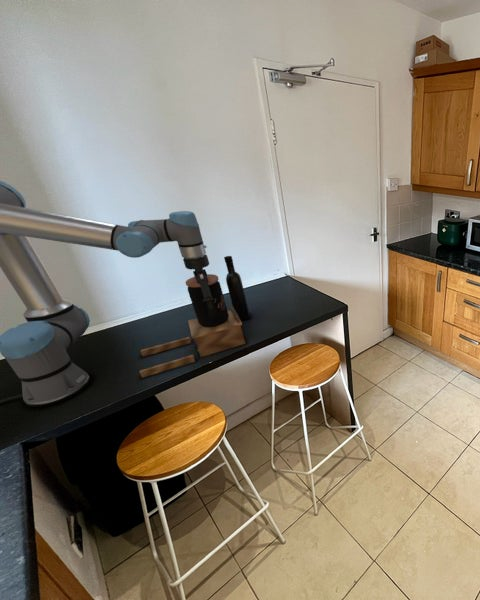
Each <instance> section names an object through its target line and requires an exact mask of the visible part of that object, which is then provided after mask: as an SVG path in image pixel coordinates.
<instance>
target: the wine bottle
mask: <svg viewBox="0 0 480 600" xmlns="http://www.w3.org/2000/svg"><path fill="white" fill-rule="evenodd" d="M223 259H224V263H225V265H226V269H227V274H226V275H225V276H226V277H225V282H226V287H227V290H228V294H229V297H230V301H231V305H233V307H234V309H235V311H236V313H237V315H238V317H239V319H240V320H241V321H246V320H250V318H251V315H250V310H249V306H248V301H247V298H246V294H245V293H246V292H245V289H244V285H243V281H242V277H241V275H240V273H238V272H237V271H236V269H235V265H234V262H233V261H234V259H233V256H232V255H226V256H224V257H223Z"/></svg>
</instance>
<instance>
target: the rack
mask: <svg viewBox="0 0 480 600" xmlns="http://www.w3.org/2000/svg"><path fill="white" fill-rule="evenodd" d="M229 308H230V309H229V310H228V309H227V311H228V315H229V317H228V319H227V321H226V322H225V323H223V324H221V325H219V326H215V327H203V326H202V325H200V324H199V323H198V320H197V317H196V318H192V319H189V320H187V322H188V327H189V330H190V336H191V337H190V336H186V337H183V338H180V339H176V340H171V341H168V342H165V343H162V344H161V343H160V344H158V345H157V344H156V345H154V346H151V347H146V348H143V349H141V350H140V353H141V355H142V358H143V357H147V356H151V355H154V354H158V353H162V352H164V351H169V350H172V349H176V348H178V347H179V348H180V347H183V346H185V345H190V344H192V341H191V338H192V339H194V342H195V345H196V348H197V350H198V353H199V356H200V358H204V357H208V356H210V355H212V354H216V353H219V352H223V351H225V350H229V349H232V348H236V347H239V346H242V345H246V340H245V337H244V333H243V329H242V326H243V322H242V320H240V319H239V317H238V315H237V313H236V311H235V309H234V307H233V305H232V304H229ZM194 362H196V359H195V356H194V354H190V355H186V356H184V357H180V358H177V359H173V360H170V361H167V362H164V363H161V364H157V365H154V366H150V367H147V368H144V369H140V370H139V374H140V376H141V378H142V379H144V378H146V377H150V376H153V375H156V374H159V373H163V372H166V371H169V370H172V369H176V368H179V367H181V366H185V365H188V364H192V363H194Z"/></svg>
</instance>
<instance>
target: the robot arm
mask: <svg viewBox="0 0 480 600" xmlns="http://www.w3.org/2000/svg"><path fill="white" fill-rule="evenodd" d="M30 238H33V239H39V240H47V241H53V242H58V243H59V242H60V243H66V244H73V245H79V246H85V247H92V248H98V249H105V250H111V251H112V250H113V251H117V252H119V253H120V254H122V255H123V256H125V257H127V258H134V259H136V258H140V257H141V258H142V257H143V256H146V255H147V254H149V253H151V251H153V249H154V248H155V247H156V246H158V245H159V244H160V243H170V242H177V245H178V249H179V252H180V255H181V257H182V258H183V259H182V262H183V264H184V267H185V268H186V269H187V270H193V271H192V273H193V277H195V278H196V280H197V283H198V284H200V286H201V290H202V293H203V296H204V300H202V301H203V302H205V304H206V308H207V311H208V314H209V317H210V316H214V315H217V311H216V308H215V305H214V301H213V297H212V295H211V292H210V288H209V285H208V278H207V274H208V273H207V271H206V268H207V267H208V266H210V261H209V260H210V259H209V257H208V255H207V250H206V249H207V244H205V243H204V240H203V236H202V233H201V229H200V224H199V222H198V219H197V217H196V214H195V213H194V212H193V211H190V210H181V211H180V210H179V211H173V212H170V213H169V214H168V218H163V219H140V220H133V221H129V222H128V224H127V226H125V225H121V224H116V223H110V222H106V221H105V222H104V221H99V220H94V219H89V218H83V217H77V216H72V215H67V214H62V213H61V214H60V213H55V212H51V211H44V210H41V209H40V210H39V209H34V208H28V207H27V203H26V199H25V198H24V196H23V195H22V193H21V192H20V191H18V190H17V188H15V187H14V186H12V185H11V184H9V183H7V182H4V181H2V180H0V269H1V271H2V272H3V274H4V276H5V277H6V279H7V280H8V282H9V283H10V285H11V286H12V288H13V290H14V291H15V293H16V294H17V296H18V297H19V299H20V300H21V302H22V304H23V305H24V306H25V308H26V310H25V311H24V313H23V314H22V315H23V317H24V319H25V320H26V322H23V323H21V324H18V325H16V326H15V327H11V328H9V329H7V330H5V331H4V332H3V333H1V334H0V355H1V356H2V357H4V359H5V361H6V362H7V363H8V365H9V366H10V368H11V369H12V370H13V372H14V373H15V375H16V376H17V377H18V379H19V380H20V382H21V394H17V395H14V396H10V397H6V398H3V399H0V404H3V403H6V402H10V401H13V400H16V399H21V398H22V400H23V402H24V403H25V405H26V406H27V407H30V408H44V407H48V406H53V405H57V404H60V403H62V402H65V401H66V400H69V399H71V398H73V397H74V396H77V395H78V394H80V393H81V392H82V391H84V390H85V389H86V388H87V387H88V386H90V385H89V384H90V383H91V377H90V375H89V373H87V372H86V371H85V370H83V369H82V368H81V367H80V366H78V365H77V364H75V363H74V362H73V360H72V359H71V358H70V356H69V354H68V352H67V350H68V349H69V348H70V347H71V346H72V345H73V344H74V343H75V342H76V341H77V340H78V339H79V338H81V337H82V336H83V335H84V334H85V333H86V332H87V330H88V328H89V326H90V322H91V321H90V316H89V314H88V312H86V310H84V309H83V308H82V307H79V306H78V305H75V304H74V303H73V302H72V300H69V299H65V298H63V296H62V294H61V292H60V291H59V289H58V288H57V285H56V284H55V281H54V280H53V278H52V277H51V275H50V274H49V272H48V269H47V268H46V266H45V265H44V263H43V261H42V259H41V257H40V256H39V254H38V252H37V251H36V249H35V246H34V245H33V244H32V241H31V240H30ZM198 280H199V281H198ZM206 297H207V298H206Z"/></svg>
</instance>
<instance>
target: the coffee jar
mask: <svg viewBox="0 0 480 600" xmlns="http://www.w3.org/2000/svg"><path fill="white" fill-rule="evenodd" d="M207 278H208V285H209V288H210V292H211V295H212V297H213V301H214V305H215V308H216V311H217V315H214V316H210V317H209V314H208V311H207V308H206V304H205V302H203V301H202V300H204V296H203V293H202V290H201V286H200V284H198V283H197V280H196V278H195V276H192V277H189V278H188V279H186V281H185V286H187V292H188V295H189V299H190V301H191V304H192V307H193V310H194V314H195V316H196V318H197V320H198V323H199V324H200V325H202V326H203V327H215V326H219V325H221V324H223V323H225V322H226V321H227V319H228V317H229V315H228V308H227V304H226V301H225V297H224V293H223V290H222V285H221V283H220V281H219V276H218V275H217V274H214V273H213V274H212V273H211V274H209V273H207ZM198 281H199V280H198ZM206 298H207V297H206Z"/></svg>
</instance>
